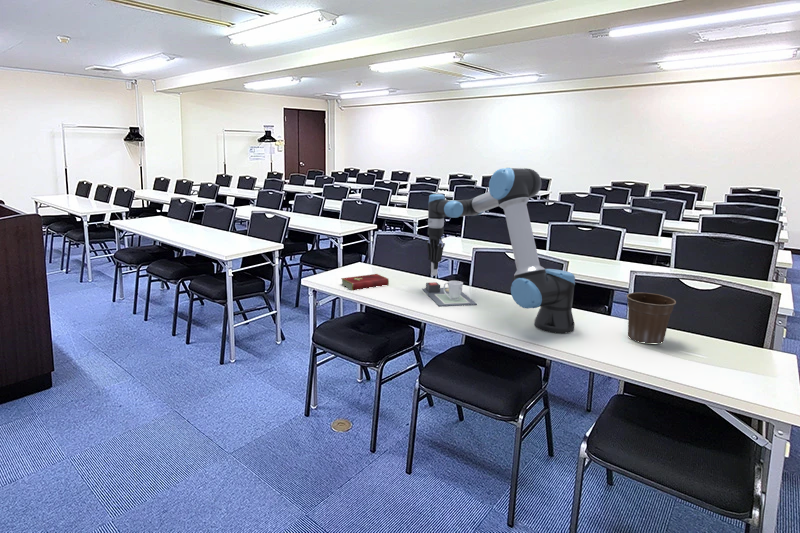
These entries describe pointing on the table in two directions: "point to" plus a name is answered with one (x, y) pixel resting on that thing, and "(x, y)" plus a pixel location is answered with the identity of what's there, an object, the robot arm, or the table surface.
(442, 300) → the picture board
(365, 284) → the hardcover book
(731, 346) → the table surface
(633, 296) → the plant pot
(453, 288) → the cup
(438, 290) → the button housing
